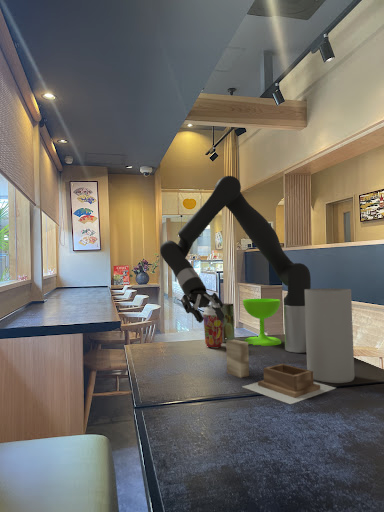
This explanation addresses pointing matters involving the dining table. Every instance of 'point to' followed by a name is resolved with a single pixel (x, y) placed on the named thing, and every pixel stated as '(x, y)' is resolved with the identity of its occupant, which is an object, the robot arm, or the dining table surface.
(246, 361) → the beech block
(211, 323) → the smoothie
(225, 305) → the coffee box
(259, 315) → the wineglass
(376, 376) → the dining table surface
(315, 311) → the cylinder vase
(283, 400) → the mat
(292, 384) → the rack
